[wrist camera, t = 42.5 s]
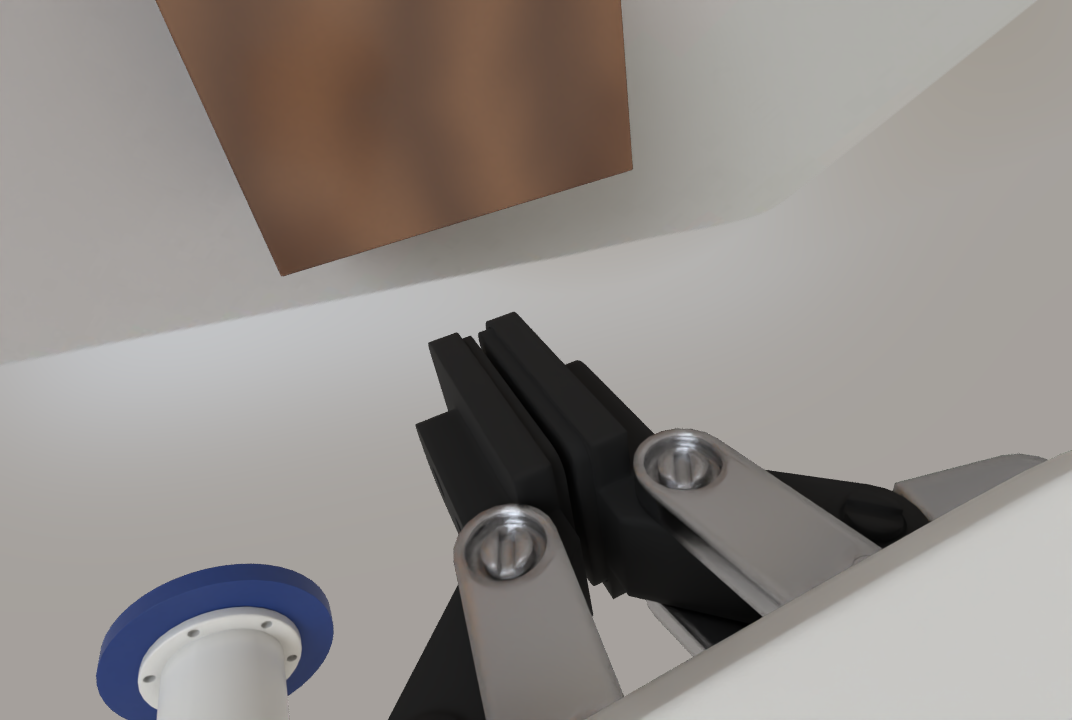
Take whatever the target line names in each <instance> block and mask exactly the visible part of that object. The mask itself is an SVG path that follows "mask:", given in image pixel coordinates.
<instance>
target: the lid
mask: <svg viewBox="0 0 1072 720" xmlns="http://www.w3.org/2000/svg"><path fill="white" fill-rule="evenodd" d="M156 3H157V5H158V7H159V9H160V11H161V14H162V16H163V18H164V20H165V22H166V25H167V27H168V29H169V31H170V33H171V36H172V38H173V40H174V42H175V44H176V47H177V49H178V51H179V53H180V55H181V58H182V60H183V62H184V64H185V66H186V68H187V71H188V73H189V75H190V77H191V79H192V82H193V84H194V86H195V88H196V90H197V93H198V95H199V97H200V99H201V101H202V104H203V106H204V108H205V110H206V112H207V115H208V117H209V119H210V121H211V123H212V126H213V128H214V130H215V132H216V134H217V137H218V139H219V141H220V143H221V145H222V148H223V150H224V152H225V154H226V156H227V159H228V161H229V163H230V165H231V167H232V169H233V172H234V174H235V176H236V178H237V180H238V183H239V185H240V187H241V189H242V191H243V194H244V196H245V198H246V200H247V202H248V205H249V207H250V209H251V211H252V213H253V216H254V218H255V220H256V222H257V224H258V227H259V229H260V231H261V233H262V235H263V238H264V240H265V242H266V244H267V246H268V249H269V251H270V253H271V255H272V257H273V260H274V262H275V264H276V266H277V268H278V270H279V273H280V275H281V276H286V275H289V274H292V273H295V272H299V271H302V270H305V269H309V268H312V267H315V266H318V265H322V264H325V263H328V262H332V261H335V260H338V259H341V258H345V257H348V256H351V255H355V254H358V253H361V252H364V251H368V250H371V249H374V248H377V247H381V246H384V245H387V244H391V243H394V242H397V241H400V240H404V239H407V238H410V237H414V236H417V235H420V234H423V233H427V232H430V231H433V230H437V229H440V228H443V227H446V226H450V225H453V224H456V223H459V222H463V221H466V220H469V219H473V218H476V217H479V216H482V215H486V214H489V213H492V212H496V211H499V210H502V209H505V208H509V207H512V206H515V205H518V204H522V203H525V202H528V201H532V200H535V199H538V198H541V197H545V196H548V195H551V194H555V193H558V192H561V191H564V190H568V189H571V188H574V187H578V186H581V185H584V184H587V183H591V182H594V181H597V180H600V179H604V178H607V177H610V176H614V175H617V174H620V173H623V172H627V171H630V170H632V169H633V165H632V151H631V137H630V123H629V109H628V95H627V81H626V67H625V52H624V38H623V24H622V10H621V0H156Z"/></svg>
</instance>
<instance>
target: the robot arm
mask: <svg viewBox="0 0 1072 720" xmlns="http://www.w3.org/2000/svg"><path fill="white" fill-rule="evenodd" d="M478 337H479V342H480V346H481V348H480V347H479V346H478V344H477V343H476V342H475V340H474V339H473V338H472V337H471V336H468V337H465V338H463V339H462V338H461V336H460V335H459V334H458V333H454V334H451V335H448V336H445V337H443V338H440V339H437V340H434V341H432V342H429V343H428V344H429V350H430V353H431V357H432V360H433V363H434V366H435V369H436V373H437V376H438V379H439V383H440V385H441V389H442V392H443V395H444V399H445V402H446V405H447V408H448V412H445V413H443V414H440V415H438V416H435V417H433V418H430V419H428V420H425V421H423V422H420V423H418V424H416V429H417V432H418V435H419V438H420V441H421V443H422V446H423V449H424V452H425V455H426V458H427V460H428V463H429V466H430V469H431V471H432V474H433V476H434V479H435V481H436V484H437V486H438V489H439V491H440V493H441V496H442V498H443V500H444V503H445V505H446V507H447V509H448V512H449V514H450V516H451V518H452V521H453V523H454V525H455V527H456V529H457V531H458V534H459V535H458V537H457V540H456V543H455V546H454V565H455V571H456V576H457V581H458V586H457V588H456V590H455V592H454V594H453V595H452V597H451V599H450V601H449V603H448V605H447V607H446V609H445V611H444V613H443V615H442V617H441V619H440V620H439V622H438V625H437V626H436V628H435V630H434V632H433V634H432V636H431V638H430V640H429V642H428V644H427V646H426V647H425V649H424V651H423V653H422V655H421V657H420V659H419V661H418V663H417V665H416V667H415V669H414V671H413V672H412V674H411V676H410V678H409V680H408V682H407V684H406V686H405V688H404V690H403V692H402V694H401V696H400V697H399V699H398V701H397V703H396V705H395V707H394V709H393V711H392V713H391V715H390V717H389V719H388V720H1072V450H1071V451H1068V452H1065V453H1063V454H1060V455H1058V456H1056V457H1054V458H1051V459H1049V460H1047V459H1044V458H1041V457H1039V456H1032V455H1024V454H1011V455H1002V456H998V457H994V458H991V459H986V460H982V461H978V462H975V463H971V464H967V465H963V466H959V467H955V468H952V469H947V470H944V471H940V472H936V473H932V474H928V475H924V476H920V477H916V478H912V479H908V480H904V481H900V482H897V483H895V485H894V489H893V491H890V490H888V489H885V488H881V487H877V486H873V485H868V484H860V483H854V482H847V481H840V480H833V479H826V478H818V477H812V476H805V475H798V474H791V473H784V472H776V471H769V470H764V469H763V468H761V467H760V466H758V465H757V464H755V463H754V462H752V461H751V460H749V459H748V458H746V457H745V456H743V455H742V454H740V453H739V452H737V451H736V450H734V449H733V448H731V447H730V446H728V445H727V444H725V443H724V442H722V441H721V440H719V439H718V438H716V437H713V436H712V435H710V434H708V433H706V432H701V431H698V430H693V429H671V430H665V431H661V432H659V433H656V434H654V433H653V432H652V431H651V430H650V429H649V428H648V427H647V426H646V425H645V424H644V423H643V422H642V421H641V420H640V419H639V418H638V417H637V416H636V415H635V414H634V413H633V412H632V411H631V410H630V409H629V408H628V407H627V406H626V405H625V404H624V403H623V402H622V401H621V400H620V399H619V398H618V397H617V396H616V395H615V394H614V393H613V392H612V391H611V390H610V389H609V388H608V387H607V386H606V385H605V384H604V383H603V382H602V381H601V380H600V379H599V378H598V377H597V376H596V375H595V374H594V373H593V372H592V371H591V370H590V369H589V368H588V367H587V366H586V365H585V364H584V363H583V362H581V361H578V360H577V361H574V362H571V363H568V364H566V365H565V364H564V363H563V362H562V361H561V360H560V359H559V358H558V357H557V356H556V355H555V354H554V353H553V352H552V351H551V349H550V348H549V347H548V346H547V345H546V344H545V343H544V342H543V341H542V340H541V339H540V338H539V337H538V336H537V335H536V333H535V332H534V331H533V330H532V329H531V328H530V327H529V326H528V325H527V324H526V323H525V322H524V321H523V320H522V318H521V317H520V316H519V315H518V314H517V313H515V312H512V313H509V314H506V315H503V316H500V317H498V318H495V319H492V320H489V321H487V322H486V330H485V331H482V332H479V333H478ZM587 578H588V580H589V581H590V583H591V584H592V585H593V586H595V585H598V584H600V583H602V582H603V584H604V585H605V587H606V588H607V590H608V592H609V593H610V595H611V596H612V598H613V599H614V598H616V597H618V596H620V595H622V594H624V593H627V594H628V595H629V596H632V597H637V598H640V599H645V600H646V602H647V605H648V607H649V609H650V610H651V611H652V613H653V614H654V616H655V617H656V618H657V619H658V620H659V621H660V622H661V623H662V624H663V625H664V627H665V628H666V629H667V630H669V632H670V633H671V634H672V635H673V636H674V637H675V638H676V639H677V640H678V641H679V642H680V644H681V645H682V646H683V647H684V648H685V649H686V650H687V651H688V652H689V653H690V654H691V655H692V656H693V658H691V659H689V660H687V661H686V662H684V663H682V664H680V665H679V666H677V667H675V668H673V669H672V670H670V671H668V672H666V673H665V674H663V675H661V676H659V677H658V678H656V679H654V680H652V681H651V682H649V683H647V684H646V685H644V686H642V687H640V688H639V689H637V690H635V691H633V692H632V693H630V694H628V695H627V696H625V697H624V695H623V693H622V690H621V688H620V685H619V683H618V680H617V678H616V675H615V673H614V670H613V668H612V665H611V663H610V660H609V658H608V655H607V653H606V651H605V648H604V645H603V643H602V641H601V638H600V635H599V633H598V630H597V628H596V626H595V623H594V620H593V618H592V616H593V611H592V605H591V599H590V594H589V588H588V583H587ZM301 652H302V645H301V637H300V633H299V630H298V628H297V627H296V625H295V624H294V623H293V622H292V621H291V620H290V619H289V618H287V617H286V616H285V615H282V614H280V613H278V612H276V611H273V610H269V609H265V608H259V607H231V608H225V609H218V610H214V611H211V612H207V613H204V614H201V615H198V616H196V617H193V618H191V619H188V620H186V621H184V622H182V623H181V624H179V625H177V626H175V627H173V628H172V629H170V630H169V631H168V632H166V633H165V634H164V635H162V636H161V637H160V638H158V640H157V641H156V642H155V643H154V644H153V645H152V646H151V647H150V648H149V649H148V651H147V652H146V654H145V656H144V657H143V659H142V662H141V665H140V668H139V675H138V686H139V692H140V694H141V695H142V697H143V699H144V700H145V701H146V702H147V703H148V704H149V705H150V706H151V707H153V708H155V709H157V720H290V718H289V706H288V696H287V686H286V680H287V679H288V678H289V677H290V675H291V674H292V673H293V671H294V670H295V668H296V667H297V665H298V662H299V660H300V658H301Z"/></svg>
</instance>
